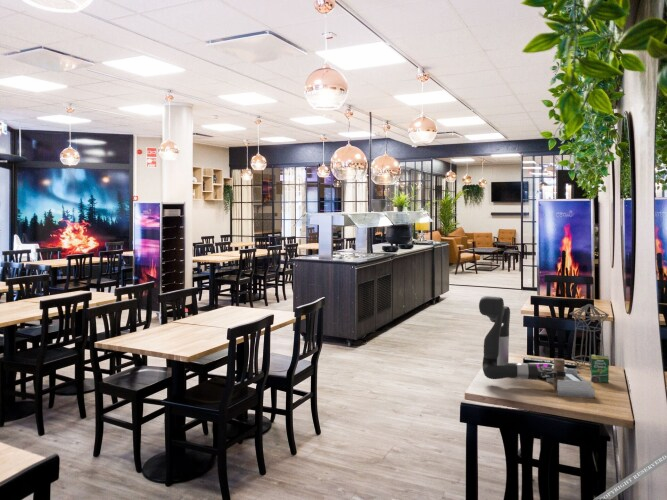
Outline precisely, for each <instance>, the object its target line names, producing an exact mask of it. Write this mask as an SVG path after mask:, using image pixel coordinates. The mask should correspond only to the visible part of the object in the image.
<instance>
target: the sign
mask: <svg viewBox="0 0 667 500" xmlns="http://www.w3.org/2000/svg"><path fill="white" fill-rule="evenodd" d="M522 363H531V364H536V365H537V367H538V368H540V366H544V367H550V368H554V359H553V360H552V359H543V358H535V357H531V358H530V357H523V358H522ZM564 368H570V369H577V370H578V368H577V363H572V362H569V361H565V364H564ZM536 380H541V381H546V378H545V377H541V376H538V378H537V379H536Z"/></svg>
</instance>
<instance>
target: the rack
mask: <svg viewBox="0 0 667 500" xmlns="http://www.w3.org/2000/svg"><path fill="white" fill-rule="evenodd" d="M553 369H554V368H553ZM564 372H565V373H566V374H572V375H573V376H574V377H576V378H577V379H579V380H580V381H573V380H557V389H556V396H558V397H570V398H571V397H573V398H588V399H594V398H595V388H594V387H593V386H592V381H591V380H589V381H588V380H586V379H584V378H583V377H582V376H581V374H578V368H577V369H570V368H564ZM553 375H554V374H553ZM553 379H554V378H548V379H546V380H545V381H546V383H553Z"/></svg>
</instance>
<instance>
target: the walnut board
mask: <svg viewBox="0 0 667 500" xmlns="http://www.w3.org/2000/svg"><path fill="white" fill-rule="evenodd" d="M553 360H554V371H560V372H564V364H565V362H566V360H565V359H564V358H555V357H554V358H553ZM557 380H564V377H560V376H557V378H554V379H553V382H552V387H553V389H554V390H557Z"/></svg>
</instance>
